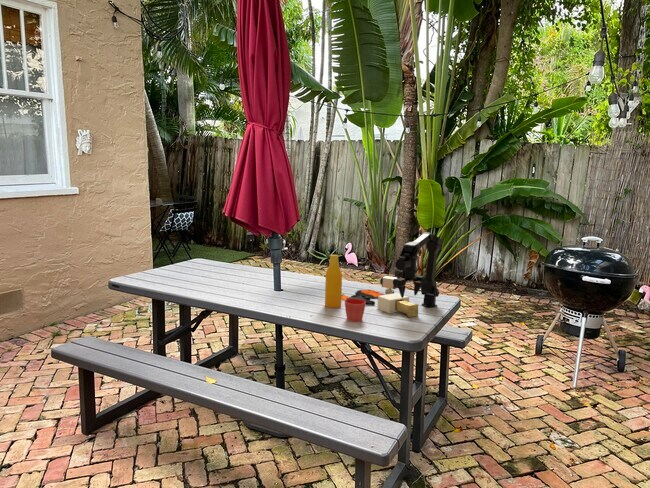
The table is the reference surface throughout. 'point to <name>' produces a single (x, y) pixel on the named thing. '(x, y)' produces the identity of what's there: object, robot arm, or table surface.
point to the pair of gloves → (364, 296)
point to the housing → (390, 302)
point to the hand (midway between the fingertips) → (408, 296)
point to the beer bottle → (333, 283)
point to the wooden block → (406, 308)
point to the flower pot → (354, 309)
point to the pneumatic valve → (388, 284)
